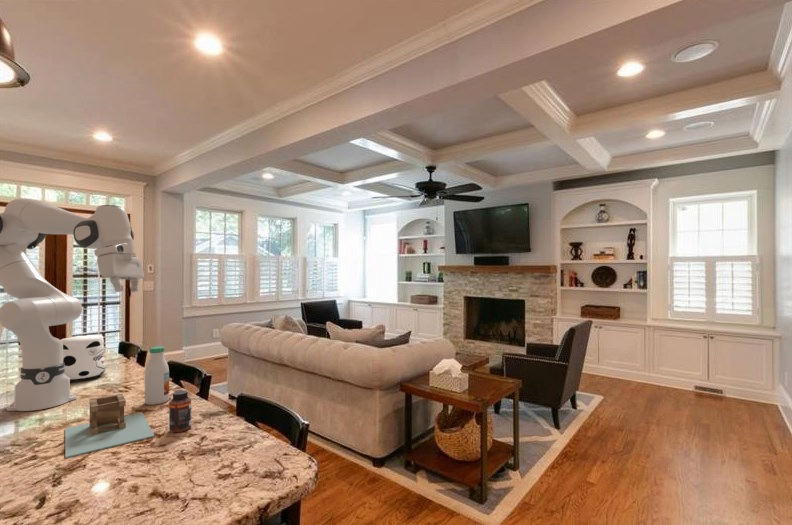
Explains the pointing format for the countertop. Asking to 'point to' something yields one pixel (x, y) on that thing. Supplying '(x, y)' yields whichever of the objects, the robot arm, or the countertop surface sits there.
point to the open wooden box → (107, 413)
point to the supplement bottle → (180, 412)
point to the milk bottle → (156, 378)
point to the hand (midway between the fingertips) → (127, 291)
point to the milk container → (83, 357)
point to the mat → (105, 436)
